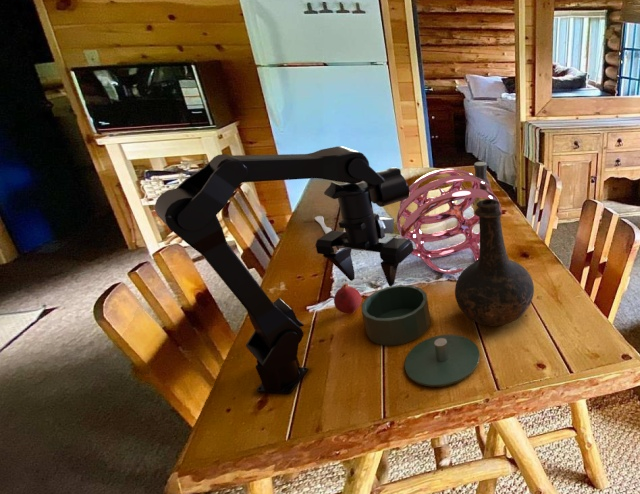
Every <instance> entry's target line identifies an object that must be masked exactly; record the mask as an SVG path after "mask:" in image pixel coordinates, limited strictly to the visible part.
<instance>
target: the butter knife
mask: <svg viewBox="0 0 640 494" xmlns="http://www.w3.org/2000/svg"><path fill="white" fill-rule="evenodd" d="M313 220H315V221H316V222H317V223H318V224H319V225H320V226H321V228H322V230H323V232H324V234H327V233H328V232H330V231H332V228H331V227H327V225H326V224H325V220H324V217H323V216H322V215H317V216H315V217H314V219H313Z"/></svg>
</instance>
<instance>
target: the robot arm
mask: <svg viewBox="0 0 640 494" xmlns="http://www.w3.org/2000/svg"><path fill="white" fill-rule="evenodd" d="M307 179H320V180H326V181H331V182H330V183H329V184H330V185H329V186H328V187H327V188H326V189H325V190H324V192H323V194H324V195H325V196H327V197H329V198H330V199H333V200H336V199H337V200H338V205H339V211H340V214H341V218H342V220H340V221H339V222H338V227H339V228H340V229H344V231H342V230H332V229H331V230H332V231H330V232H328V233H327V234H326V233H324V235H322V236H320V237H319V238H317V240H316V242H315V245H314V246H315V249H316V253H317V254H318V255H322V256H323V258H325V259H327V260H329V261H330V262H331V263H332V264H333V266H335V267H336V268H337V269H338V270H339V271H340V272H341V273H342V274H343V275H344V276H345V277H346V278H347V279H348V280H349V281H351V282H353V281H354V280H355V279H356V277H355V275H356V274H355V268H354V264H353V259H352V250H353V251H354V250H355V251H365V252H373V253H379V257H380V259H381V260H382V261H381V262H380V267H381V269H382V271H383V274H384V277H385V280H386V282H387V284H388V287H391V286H394V284H395V281H396V276H397V271H398V268H399V264H401V263H402V262H403V261H404V260H406V258H407V257H409V256H410V255H412V254H411V253H412V252H413V251H414V249H415V248H414V244H413V243H414V242H413V241H411V240H409V239H407V238H406V239H403V238H400V237H392V238H391V239H390V240H388V241H387V242H380V240H383V239H384V238H386V234H394V228H395V227H394V226H395V225H394V223H395V218H393V217H392V218H391V217H384V216H380V215H379V213H374V208H373V204H374V205H377V206H378V207H379V208H383V207H387V206H389V205H392V204H395V203H398V202H399V203H400V202H401V201H402V200H406V199H407V198H408V197H409V196H410V191H409V187H410V185H408V182H407V180H406V179H405V177H404V176H403V175H402V171H401V169H400V168H398V167H395V166H393V167H390V168H387V169H385V170H382V171H376V170H375V169H373V167H371V166H370V161H369V159H368V158H367V156H366V155H365V154H364V153H363V152H360V151H358V150H355V149H351V148H348V147H345V146H340V145H339V146H333V147H327V148H322V149H320V150H316V151H313V152H309V153H296V154H295V153H291V154H288V153H287V154H285V153H283V154H238V155H237V154H236V155H233V154H227V153H220V154H217V155H215V156H214V157H213V158H211V160H210V161H208V162H207V164H205V165H204V166H203V167H202V168H200V169H199V170H197V171H196V172H194V173H192V174H191V175H190V176H188V177H187V178H185V179H184V180H183V181H182V182H181V183H180V184H179V185H178V186H177V187H176V188H172V189H168V190H165V191H164V192H163V193H161V194H160V195H159V196H158V198H157V199H156V201H155V205H154V211H155V213H156V215H157V217H158V218H159V219H160V220H161V221H162V222H163V223H164V224H165V226H167V228H169V230H171V232H172V233H174V234H175V235H176V236H177V237H179V238H180V239H181V240H182V241H183V242H185V244H188V246H190V247H191V248H192V249H194V250H195V251H196V252H198V253H199V254H200V255H201V256H202V257H203V258H204V260H205V261H206V262H207V264H208V265H209V266H210V267H211V268H212V270H213V271H214V272H215V273H216V274H217V276H218V277H219V278H220V279H221V280H222V282H223V283H224V284H225V285H226V287H227V288H228V289H229V290H230V291H231V292H232V294H233V295H234V296H235V298H236V299H237V300H238V301H239V302H240V304H241V305H242V306H243V307H244V308H245V310H246V312H247V314H248V317H249V321H250V323H251V325H252V327H253V329H254V330H253V333H252V335H251V336H250V338H249V339H248V340H247V342H246V343H245V347H246V348H247V349H248V351H249V352H250V353H251V354H252V355H253V357H254V358H255V359H256V365H255V370H256V372H257V375H258V377H259V380H260V382H261V383H260V384H259V386H258V387H257V388H256V392H257V393H261V394H281V395H289V394H291V393H292V392H293V391H294V390H295V388H296V387H297V386H298V385H299V384H300V382H301V380H302V379H304V376H305V375H306V374H307V373H308V371H309V369H308V367H306V366H301V365H300V361H299V358H298V353H299V346H300V345H299V344H300V343H301V342H302V341H303V340H302V339H303V337H304V331H303V329H302V327H304V326H305V324H304V323H303V322H302V321H301V320H300V319H299V318H298V317H297V315H296V313H295V311H294V310H293V308H291V307H290V306H289V305H288V304H287V303H285V302H284V300H282V299H281V297H278V298H277V299H276V300H274V301H272V300H271V299H270V297H269V296H268V295H267V294H266V292H265V291H264V289H263V288H262V287H261V286H260V284H259V283H258V281H257V280H256V279H255V278H254V276H253V275H252V273H251V272H250V271H249V270H248V269H247V267H246V266H245V265H244V263H243V261H242V260H241V259H240V258H239V257H238V255H237V254H236V253H235V251H234V250H233V248H232V247H231V246H230V244H228V241H227V239H226V236H225V232H224V229H223V226H222V224H221V222H220V221H219V220H220V219H219V218H218V214H219V213H220V212H221V211H222V210H223V209H224V208H225V207H226V206H227V204H228V202H229V201H230V199H231V198H232V196H233V195H234V193H235V192H236V189H237V188H238V187H240V186H241V185H242V184H244V183H257V182H258V183H259V182H275V181H277V182H278V181H291V180H293V181H294V180H307ZM336 182H337V183H336ZM338 183H341V184H338Z"/></svg>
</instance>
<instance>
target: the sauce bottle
mask: <svg viewBox="0 0 640 494" xmlns="http://www.w3.org/2000/svg"><path fill="white" fill-rule="evenodd" d="M487 165H488V163H487V162H485V161H476V162H474V164H473V168H474V176H475V177H477V178H480V179H482V180H483V181H485V182H486V183H487V184H488V185H489V186H490V187H491V188H492V186H491V184H492V183H491V181H490V180H489V178H488V173H487V168H488V166H487ZM479 184H480V183H479ZM480 189H482V190H486V191H487V189H486V187H485V186H484V185H482V184H480ZM485 199H486V198H478V197H477V198H476V200H475V201H474V202H473V203H472V207H473V210H472V211H473V216H474V215H475V210H476V209H477V208H478V202H479V201H481V200H485Z"/></svg>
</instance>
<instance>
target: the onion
mask: <svg viewBox="0 0 640 494" xmlns="http://www.w3.org/2000/svg"><path fill="white" fill-rule="evenodd" d="M362 299H363V298H362V295H361V292H360V291H359V290H358V289H357V288H355V287H353V286H349V283H347V282H345V283H343V284H342V285H341V287H340V288H339V289H338V290H337V291H336V292H335V294H334V297H333V304H334V306H335V309H336V310H338V311H339V312H340V313H343V314H350V315H351V314H354V313H355V312H356V311H357V310H358V309H359V308H360V306H361V305H362V301H363V300H362Z"/></svg>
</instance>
